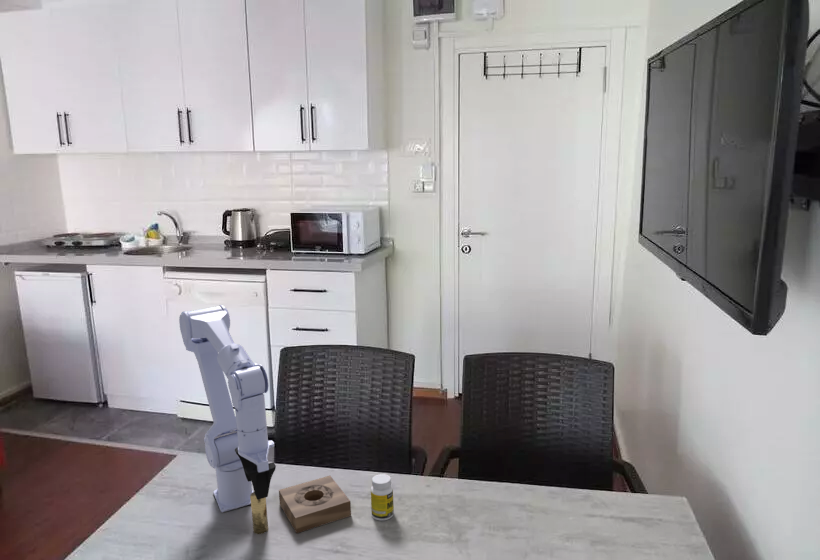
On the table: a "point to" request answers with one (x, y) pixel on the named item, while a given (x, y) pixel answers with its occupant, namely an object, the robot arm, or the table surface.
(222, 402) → the robot arm
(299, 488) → the socket block
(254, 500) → the brass peg
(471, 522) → the table surface
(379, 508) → the supplement bottle
